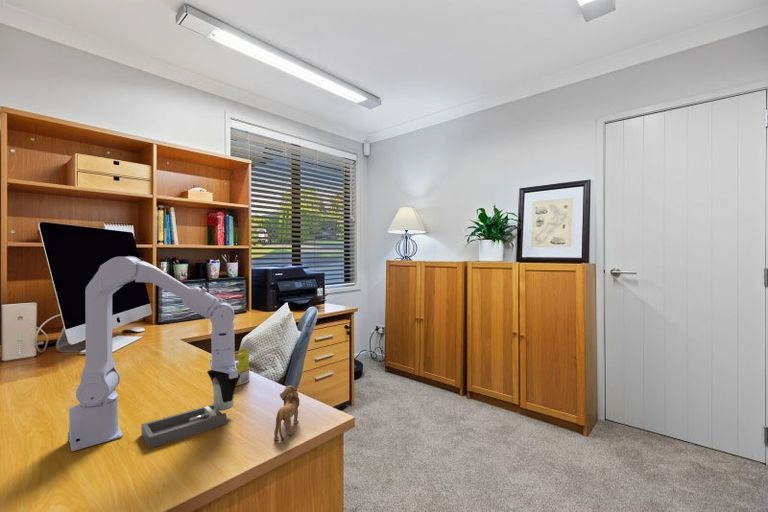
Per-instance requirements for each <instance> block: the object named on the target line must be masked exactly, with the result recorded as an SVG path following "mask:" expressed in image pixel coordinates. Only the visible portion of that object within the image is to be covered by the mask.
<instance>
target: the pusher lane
mask: <svg viewBox="0 0 768 512" xmlns="http://www.w3.org/2000/svg"><path fill="white" fill-rule="evenodd" d="M207 406H209V407H210V408H211V409H212V410H213V411H214V412H215V413H216V416H213V417H209V418H203V419H200V420H197V421H193V422H189V418H192V417H196V416H199V415H203V414H204V407H207ZM224 425H227V413H226V412H223V413H222V412H221V411H217V410H214V403H213V404H209V405H205V406H202V407H198V408H195V409H191V410H188V411H183V412H180V413H178V414H174V415H169V416H166V417H163V418H159V419H155V420H152V421H149V422H145V423H141V436H142V438H143V440H144V442H145V443H146V445H147V447H148V448H149V450H150V449H153V448H156V447H160V446H163V445H167V444H169V443H172V442H175V441H178V440H179V441H180V440H182V439H184V438H187V437H190V436H194V435H197V434H199V433H203V432H206V431H210V430H213V429H216V428H218V427H221V426H224Z"/></svg>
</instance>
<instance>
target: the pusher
mask: <svg viewBox="0 0 768 512" xmlns="http://www.w3.org/2000/svg"><path fill="white" fill-rule="evenodd" d="M206 406H207V407H205V406H203V407H204V414H203V415H199V416H196V417H192V418H189V422H193V421H197V420H200V419H203V418H209V417H213V416H216V413H215V412H214V411H213V410H212V409H211V408H210V407H209V405H206Z"/></svg>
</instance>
